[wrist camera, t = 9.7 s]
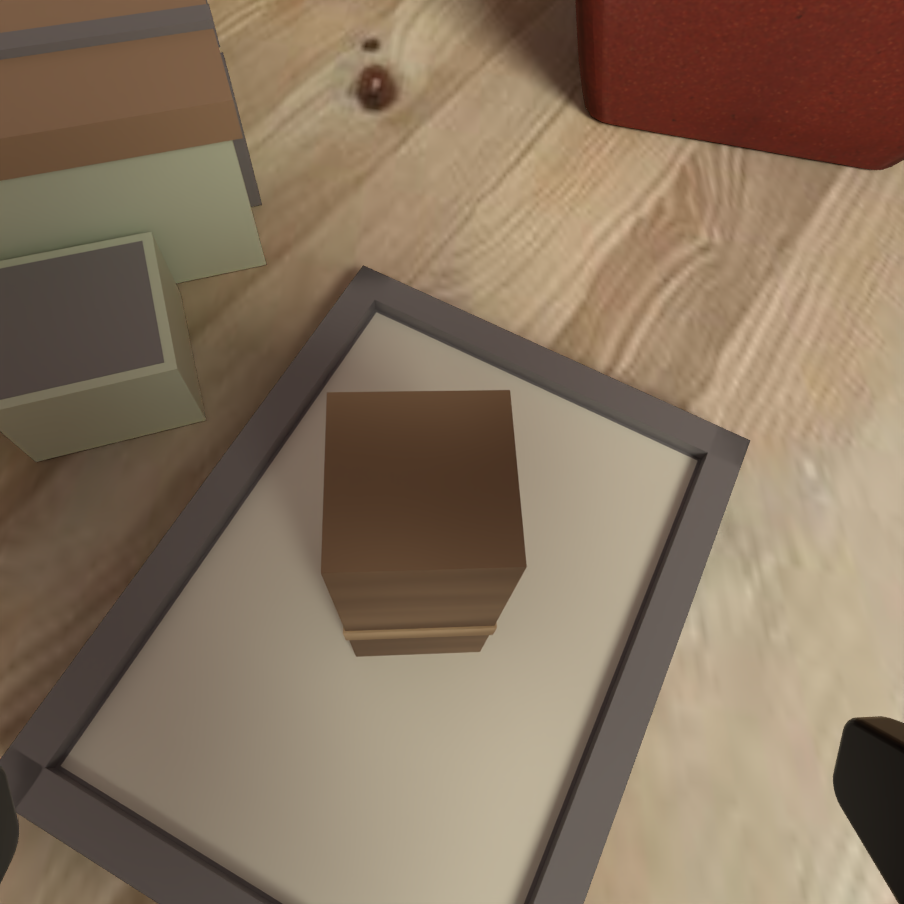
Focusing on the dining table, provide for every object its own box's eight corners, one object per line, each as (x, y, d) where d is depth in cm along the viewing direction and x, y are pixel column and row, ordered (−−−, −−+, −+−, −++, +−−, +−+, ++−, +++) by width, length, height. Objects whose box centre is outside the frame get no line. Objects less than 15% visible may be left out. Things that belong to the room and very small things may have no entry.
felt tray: (729, 461, 22) (750, 440, 21) (495, 1094, 15) (503, 1125, 14) (365, 294, 24) (363, 265, 23) (12, 788, 17) (-21, 788, 16)
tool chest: (313, 393, 22) (277, 242, 16) (-87, 492, 20) (-310, 362, 14) (207, 7, 30) (154, -197, 24) (-91, 49, 28) (-236, -163, 22)
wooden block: (482, 654, 18) (530, 570, 11) (354, 658, 18) (317, 575, 11) (474, 532, 20) (513, 387, 12) (355, 535, 19) (323, 390, 12)
